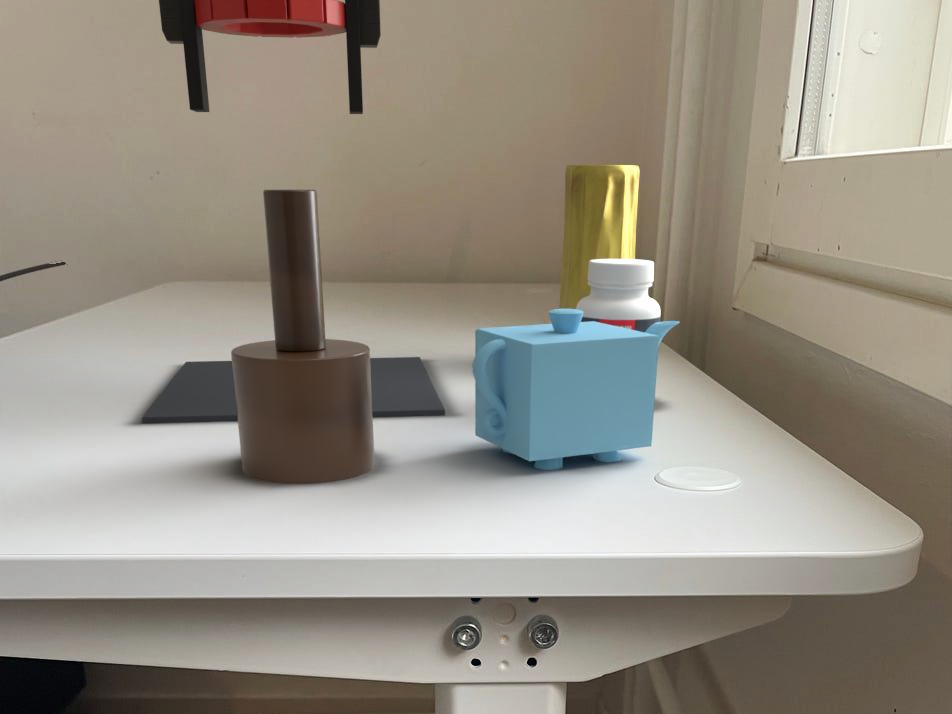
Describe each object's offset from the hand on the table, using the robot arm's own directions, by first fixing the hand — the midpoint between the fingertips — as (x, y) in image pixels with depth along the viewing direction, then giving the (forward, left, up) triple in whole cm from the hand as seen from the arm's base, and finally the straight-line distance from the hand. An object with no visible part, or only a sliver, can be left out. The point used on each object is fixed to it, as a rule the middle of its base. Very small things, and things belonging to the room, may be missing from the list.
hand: (278, 111), depth 59 cm
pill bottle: (+3, +20, -17) cm, 26 cm away
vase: (-11, +22, -17) cm, 30 cm away
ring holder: (+16, +1, -17) cm, 23 cm away
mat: (-5, 0, -17) cm, 18 cm away
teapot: (+15, +15, -17) cm, 27 cm away
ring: (0, 0, +4) cm, 4 cm away
